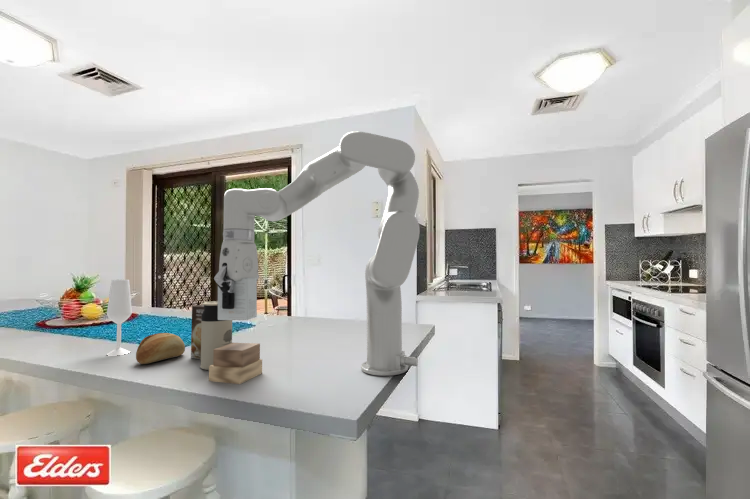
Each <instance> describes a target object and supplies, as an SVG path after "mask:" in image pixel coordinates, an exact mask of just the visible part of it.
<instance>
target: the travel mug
mask: <svg viewBox="0 0 750 499" xmlns="http://www.w3.org/2000/svg"><path fill="white" fill-rule="evenodd" d="M202 305H204V309H205V310H204V311H203V313H202V319H201V320H202V321H201V359H200V368H201V369H202V370H205V371H209V366H210V365H213V355H214V349H216V348H219V347H222V346H225V345H227V344H230V343H233V320H218V300H216V301H215V300H213V301H205V302H203V303H202Z"/></svg>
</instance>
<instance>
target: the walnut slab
mask: <svg viewBox="0 0 750 499" xmlns="http://www.w3.org/2000/svg"><path fill="white" fill-rule="evenodd" d="M259 359H261V343H260V342H259V343H258V342H257V343H256V342H255V343H253V342H251V343H250V342H232V343H230V344H227V345H225V346H222V347H219V348H216V349H214V355H213V366H226V367H244V366H246V365H248V364H250V363H252V362H254V361H256V360H259Z"/></svg>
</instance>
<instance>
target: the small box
mask: <svg viewBox="0 0 750 499" xmlns="http://www.w3.org/2000/svg"><path fill="white" fill-rule="evenodd" d="M223 280H224V279H223ZM227 280H232V279H227ZM257 283H258V280H257V278H243V279H242V280H241V281H236V282H235V285H234V288H233V292H232V293H234V294H235V295H234V309H223V308H222V293H221V291H220V288H219V287H218V286H217V301H218V320H232V321H249V320H251V319H252V320H253V319H255V318H257V314H258V312H257V311H258V298H257V295H258V293H257V291H258V290H257V288H258V287H257ZM227 284H228V286H229V284H230V283H227Z"/></svg>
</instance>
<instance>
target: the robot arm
mask: <svg viewBox="0 0 750 499" xmlns="http://www.w3.org/2000/svg"><path fill="white" fill-rule="evenodd" d="M338 145H339V146H337V147H335V148H333V149H332V150H330V151H328V152H327V153H325V154H323V155H320V156H319V157H317V158H316V159H314V160H312V161H310V162H309V163H308V164H306V165H305V166H304V167H303V168H302V170H301V171H300V173H299V174H298V175H297V177H296V178H295V179H294V180H293V181H291V183H289V184H288V185H286V186H285V187H283V188H282V189H279V190H278V191H277V190H276V189H273V188H267V187H265V188H255V189H244V188H231V189H228V190H226V191H225V192H224V196H223V232H222V238H223V241H222V243H221V247H220V248H221V249H220V253H219V264H218V265H219V266H218V271H217V273H216V274H215V276H214V278H213V279H214V281H215V283H216V284H217V288H218V287H219V288H220V291H221V293H222V308H223V309H234V295H235V294H234V293H232V292H233V288H234V285H235V282H236V281H241V280H242V279H243V278H257V281H258V280H259V279H260V275H259V258H258V249H257V245H256V243H255V217H261V218H263V219H265V220H266V221H269V222H278V221H281V220H282V219H284V218H286V217H289V216H290V215H292V214H294V213H295V212H297V211H298V210H300V209H302V208H304V207H305V206H307V205H308V204H309V203H311V202H312V201H313V200H315V199H317V198H318V197H320V196H322V194H323V193H325V192H327V191H328V190H330V189H332V188H333V187H335V186H337V185H339V184H340V183H343V182H344V181H345V180H348V179H349V178H350V177H352V176H354V175H356V174H358V173H359V172H360V171H362V170H363V169H364V168H366V166H367V167H369V168H375V169H377V172H378V175H379V176H380V178H381V179H382V180H383V181H384V183H385V184H386V187H387V189H388V194H387V199H386V204H385V208H384V211H383V215H382V218H381V221H380V223H379V226H378V229H377V233H378V234H377V237H378V244H377V247H376V250H375V251H376V252H375V254H374V255H372V256H371V257H370V258H369V259H368V261H367V263H366V265H365V271H364V272H365V273H364V274H365V276H364V277H365V289H366V290H365V291H366V292H365V293H366V294H365V295H366V361H364V362H362V363H361V365H360V369H361V372H363V373H365V374H367V375H368V374H369V375H372V376H381V377H384V376H385V377H387V376H397V375H402V374H404V373H406V372H407V371H408V370H409V369H408V368H409V366H410V367H411V366H412V367H417V366H418V365H419V364H418V363H419V360H418V358H416V356H407V355H406V352H405V350H403V335H402V333H403V331H402V328H403V327H402V324H403V323H402V322H403V321H402V318H403V317H402V316H403V315H402V314H403V313H402V309H403V308H402V305H403V304H402V291H401V286H402V285H403V284H404V283H405V282H406V280H407V279H408V277H409V275H410V271H411V268H412V264H413V261H414V258H415V254H416V250H417V246H418V243H419V239H420V230H421V229H420V224H419V221H418V219H417V217H416V212H417V208H418V203H419V196H420V195H419V194H420V190H419V185H418V182H417V180H416V178H415V176H414V174H413V173H412V172H411V170H412V168H413V167H414V165H415V161H416V154H415V151H414V149H413V147H412V146H411V145H410V144H408V143H407V142H405V141H403V140H400V139H396V138H392V137H388V136H383V135H378V134H375V133H371V132H366V131H360V130H357V131H353V130H352V131H350V132H347V133H345V134H343V136H342V137H341V139H340V141H339V144H338ZM223 279H224V280H223ZM227 279H232V280H227ZM227 283H230V284H229V286H228V284H227Z"/></svg>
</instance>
